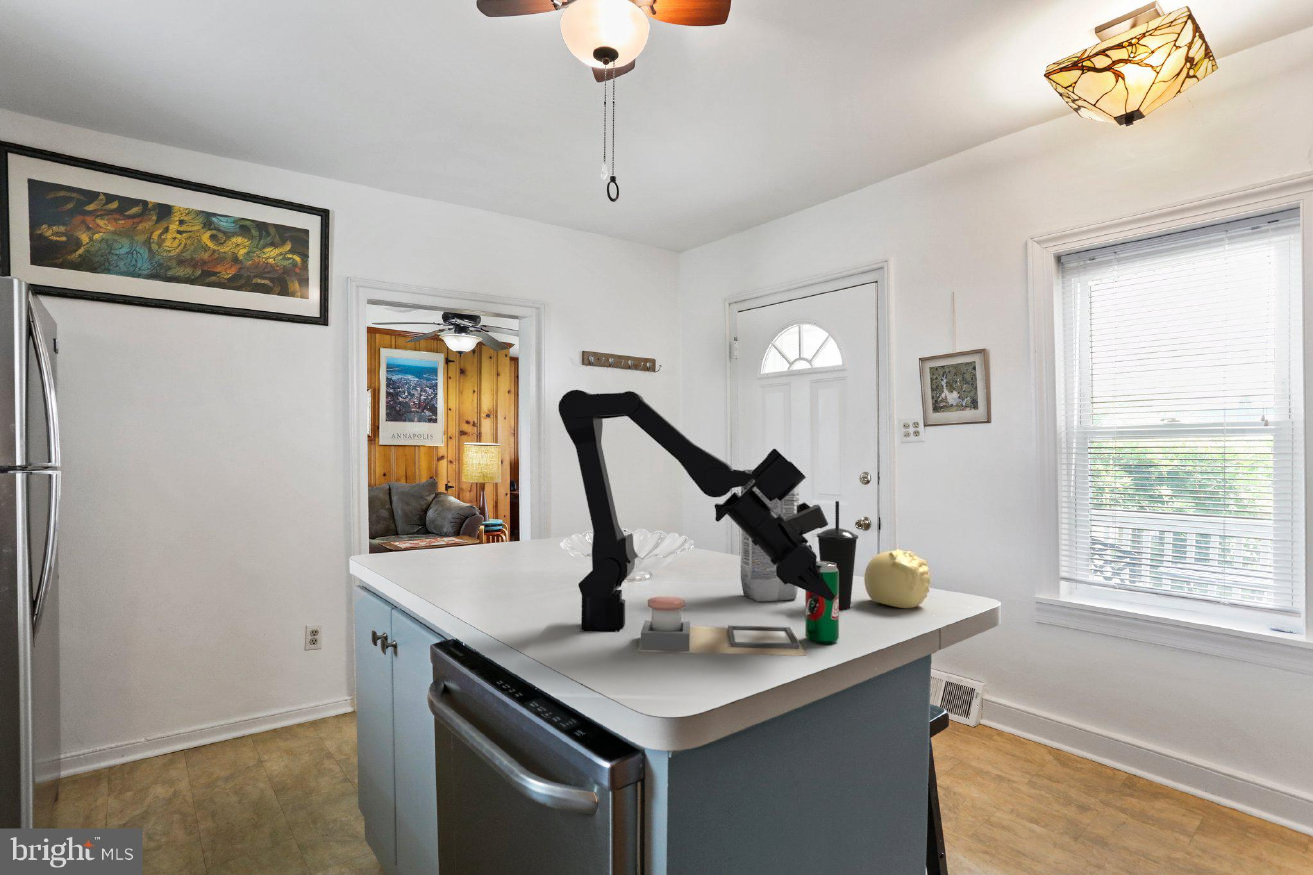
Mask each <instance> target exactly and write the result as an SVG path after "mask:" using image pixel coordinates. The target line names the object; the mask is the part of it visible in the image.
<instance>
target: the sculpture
mask: <svg viewBox="0 0 1313 875" xmlns="http://www.w3.org/2000/svg"><path fill="white" fill-rule="evenodd" d="M927 562H928V561H927V560H925V559H923V558H921V557H919V556H917V555H916V553H915V552H914V551H910V550H908V551H906V550H901V549H900V548H896V549H895V550H889V551H883V552H880V553H878V554H876V555H874V556H873V557H872V558H871V559H870V561H869V562H868V563H867V565H866V566H867V567H866V568H865V570H864V576H863V577H864V587H865V591H866V593H867V595H868V597H869V599H870V600H872V601H873V602H875V603H878V604H883V605H886V606H891V607H894V608H900V609H913V608H916V607H917V606H919V605H921V604H923V603H924V601H925V599H926V598H927V597H928V593H929V592H930V588H929V586H930V584H931V573H930V572H929V571H930V568H929V566H928V563H927Z"/></svg>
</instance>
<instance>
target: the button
mask: <svg viewBox="0 0 1313 875" xmlns="http://www.w3.org/2000/svg"><path fill="white" fill-rule="evenodd" d="M647 607H648V608H651V621H652V631H670V632H680V631H681V621H682V609H684V608H685V607H686V600H685V599H684V598H681V597H677V596H654V597H651V598H648V599H647Z"/></svg>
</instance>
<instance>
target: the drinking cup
mask: <svg viewBox="0 0 1313 875" xmlns="http://www.w3.org/2000/svg"><path fill="white" fill-rule="evenodd" d="M834 504H835V509H834V510H835V511H834V512H835V519H834V520H835V522H834V524H835V527H833V528H827V529H825V530H822V531H821V532H818V533H816V538H817V542H818V551H819V552H818V553H819V561H827V562H833V563H836V567H837V569H838V570H839V611H843V610H849V609H850V608H851V604H852V603H851V602H852V591H853V584H854V582H853V581H854V571H855V561H856V551H857V541H858V539H859V535H858V534H856V533H853V532H852V531H850V530H849V529H848V530H847V529H844V528H840V500H836V501H835V502H834Z"/></svg>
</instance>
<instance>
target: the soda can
mask: <svg viewBox="0 0 1313 875" xmlns="http://www.w3.org/2000/svg"><path fill="white" fill-rule="evenodd" d="M816 568H817V570H818V571H819V573H820V574H821V576H822V577H823V579H824V580H825V582H826V583H827V584H828V586H829V587H830V589H831V590H832V592H833V593H834V595H835V598H834V599H833V600H832V601H829V600H827V599H824V598H822V597H820V596H818V595H815V594H813V593H811V592H808V591H806V590H804V592H805V596H804V597H805V600H804V601H805V603H804V604H805V606H804V607H805V620H804V621H805V627H804V630H805V631H804V632H805V634H804V636H805V637H806V639H807V640H808V641H809V642H811V643H813V644H818V645H819V644H820V645H832V644H835V643H836V642H838V640H839V639H840V635H839V634H840V633H839V632H840V631H839V630H840V625H839V624H840V620H839V619H840V610H839V570H838V569H837V567H836V563H833V562H827V561H820V560H816Z"/></svg>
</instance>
